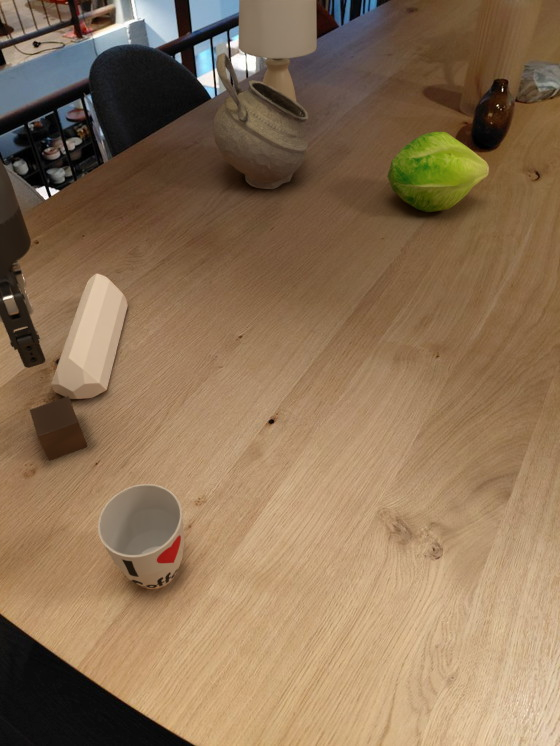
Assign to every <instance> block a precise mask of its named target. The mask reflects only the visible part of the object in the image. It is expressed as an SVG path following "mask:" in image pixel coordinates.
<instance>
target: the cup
mask: <svg viewBox="0 0 560 746" xmlns="http://www.w3.org/2000/svg"><path fill="white" fill-rule="evenodd" d="M97 533H98V536H99V539H100V541H101V543H102V544H103V546H104V548H105V549H106V552H107V553H108V555H109V557H110V558H111V561H112V562H113V563H114V565H115V566H116V567H117V569H119V570H120V571H121V572H122V573H123V575H125V577H126V578H127V579H128V580H129V581H130V582H132V583H134V584H136V585H138V586H139V587H142V588H143V589H146V590H157V589H160V588H164V587H166V586H167V585H168V584H170V583H171V582H172V581H173V580H174V579H175V577H176V576H177V573H178V571H179V568H180V566H181V564H182V561H183V557H184V546H185V527H184V518H183V510H182V505H181V502H180V500H179V498H178V497H177V496H176V495H175V494H174V493H173V491H171V490H170V489H168V488H167V487H165V486H162V485H159V484H154V483H140V484H135V485H131V486H129V487H126V488H124V489H122V490H120V491H119V492H117V493H116V494H114V495H113V496H111V498H110V499H109V500H108V501H107V502H106V504H105V505H104V506H103V508H102V510H101V512H100V513H99V517H98V521H97Z"/></svg>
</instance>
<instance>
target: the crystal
mask: <svg viewBox="0 0 560 746" xmlns="http://www.w3.org/2000/svg"><path fill="white" fill-rule="evenodd" d="M127 310H128V301H127V298H126V296H125V295H124V293H123V292H122V291H121V290H120V289H119V288H118V287H117V285H116V284H114V283H113V282H112V281H111V280H110V278H108V277H107V276H106V275H103V274H100V273H97V272H96V273H95V274H93V275H91V276H90V278H89V279H88V280H87V282H86V285H85V287H84V289H83V292H82V294H81V297H80V300H79V303H78V306H77V309H76V312H75V314H74V317H73V321H72V323H71V326H70V329H69V332H68V334H67V337H66V340H65V343H64V346H63V348H62V351H61V355H60V357H59V360H58V363H57V366H56V368H55V371H54V375H53V377H52V380H51V383H50V385H51V388H52V391H53V393H56V394H58V395H61V396H62V397H64V398H65V397H69V398H70V400H81V399H82V400H83V399H93V398H94V397H97V396H98V395H100V394H103V393H104V392H106V391H107V390H108V385H109V383H110V379H111V374H112V371H113V366H114V362H115V359H116V354H117V350H118V346H119V343H120V338H121V334H122V331H123V326H124V322H125V319H126V314H127Z"/></svg>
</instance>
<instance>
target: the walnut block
mask: <svg viewBox="0 0 560 746" xmlns="http://www.w3.org/2000/svg"><path fill="white" fill-rule="evenodd" d="M29 414H30V417H31V420H32V424H33V426H34V430H35V434H36V436H37V439H38V440H39V444H40V445H41V448H42V449H43V452H44V454H45V456H46V458H47V460H48V462H50V461H53V460H55V459H59V458H61V457H63V456H66V455H68V454H72V453H74V452H76V451H79V450H82V449H84V448H87V447H88V444H87V441H86V438H85V435H84V432H83V430H82V428H81V427H82V426H81V425H80V422H79V419H78V417H77V415H76V411H75V409H74V406H73V404H72V401H71V399H70V398H69V397H65V396H64V397H61V398H60V399H57V400H54V401H51V402H48V403H45V404H42V405H39V406H36V407H34V408H30V409H29Z"/></svg>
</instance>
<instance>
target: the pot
mask: <svg viewBox="0 0 560 746" xmlns="http://www.w3.org/2000/svg"><path fill="white" fill-rule="evenodd" d="M215 68H216V73H217V75H218V77H219V79H220V81H221V84H222V85H223V87H224V89H226V91H227V93H228V94H229V96H227V97H225V98H224V100H223V103H222V104H221V105H220V106H219V108H218V109H217V111H216V113H215V115H214V119H213V125H212V131H213V139H214V142H215V145H216V146H217V149H218V150H219V152H220V154H221V156H222V157H223V159H224V160H225V161H226V163H228V164H229V165H230V166H232V168H234V169H235V170H236V171H238V172H240V173H241V174H243V175H244V179H245V182H246V183H247V184H249V185H250V186H251V187H254V188H256V189H267V190H274V189H276V188H279V187H280V186H281V185H283V184H286V183H290V182H291V180H292V177H293V175H294V173H295V172H296V171H298V169H299V168H300V166H302V164H303V162H304V160H305V157H306V151H307V150H308V147H309V145H308V142H307V140H306V138H305V128H304V127H305V125H304V123H305V122H306V121H308V119H309V114H308V112H307V111H306V109H305V108H303V106H302V105H301V104H300V103H298V101H297V100H296V101H295V100H293V99H291V98H289V97H288V96H286V95H284V94H283V93H281V92H280V91H278V90H277V89H275V88H273V87H272V86H267V85H266V84H265V83H263V81H260V80H253V79H252V80H249V81H248V83H247V85H248V88H247V89H245V91H242V88H241V87H240V83H239V80H238V77H237V74H236V71H235V68H234V65H233V64H232V62H231V59H230V58H229V56H228V55H227V54H226V52H222V53H221V54H218V55H217V57H216V63H215ZM227 71H228V73H229V74H230V77H231V80H232V82H233V85H234V88H233V85H232V83H231V80H230V79H229V78H228V73H227ZM234 89H235V90H234Z"/></svg>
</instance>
